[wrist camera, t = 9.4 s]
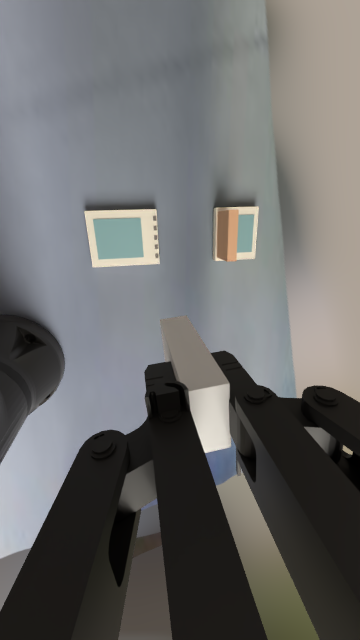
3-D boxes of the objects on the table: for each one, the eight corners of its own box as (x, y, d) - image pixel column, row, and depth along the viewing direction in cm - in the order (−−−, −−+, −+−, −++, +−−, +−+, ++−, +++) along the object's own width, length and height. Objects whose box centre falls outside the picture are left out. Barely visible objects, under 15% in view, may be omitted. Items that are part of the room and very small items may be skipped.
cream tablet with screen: (94, 266, 36) (92, 267, 34) (86, 211, 33) (84, 210, 32) (158, 262, 37) (159, 263, 36) (155, 209, 34) (156, 209, 33)
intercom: (212, 259, 38) (225, 265, 32) (213, 208, 35) (227, 205, 30) (251, 257, 39) (270, 263, 33) (254, 207, 36) (275, 204, 31)
